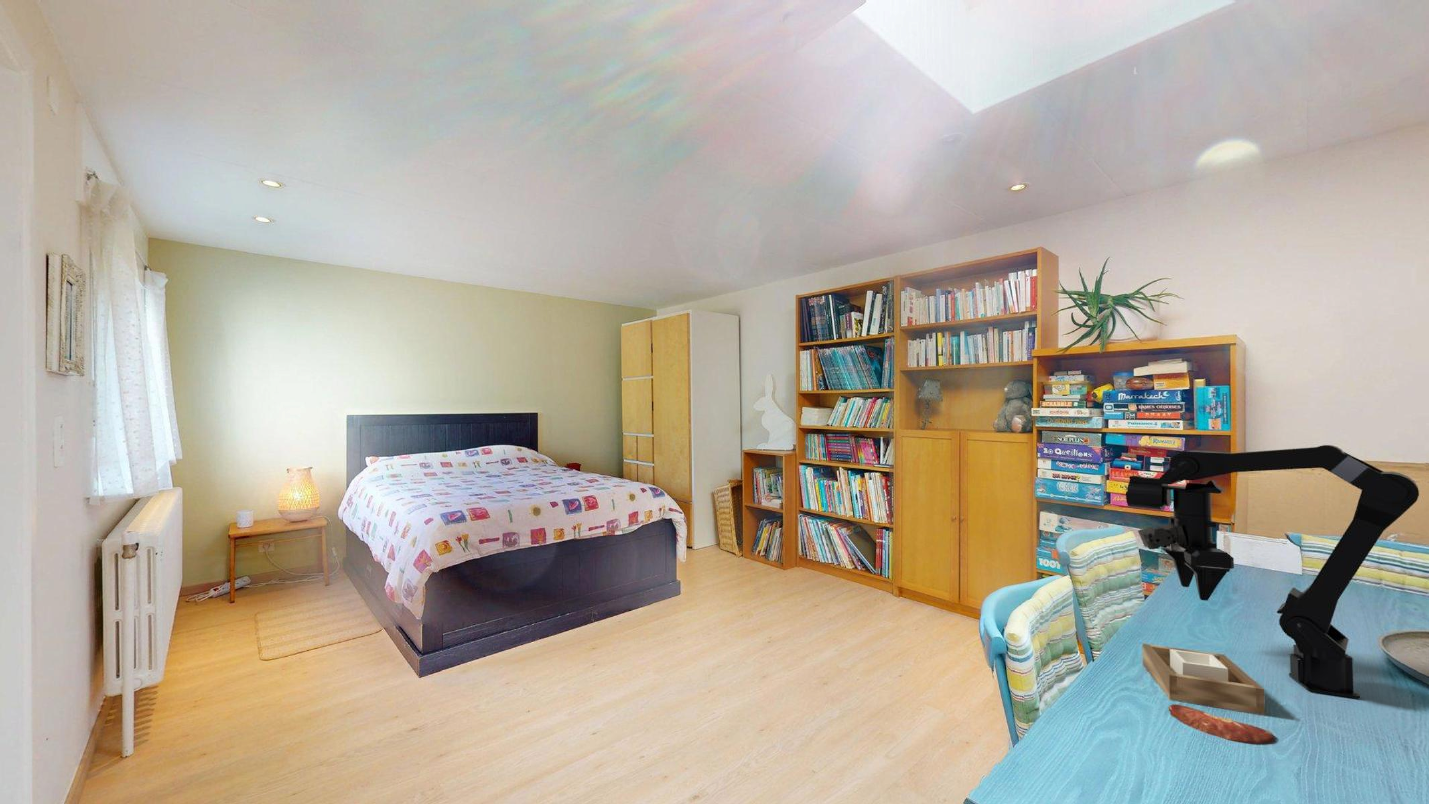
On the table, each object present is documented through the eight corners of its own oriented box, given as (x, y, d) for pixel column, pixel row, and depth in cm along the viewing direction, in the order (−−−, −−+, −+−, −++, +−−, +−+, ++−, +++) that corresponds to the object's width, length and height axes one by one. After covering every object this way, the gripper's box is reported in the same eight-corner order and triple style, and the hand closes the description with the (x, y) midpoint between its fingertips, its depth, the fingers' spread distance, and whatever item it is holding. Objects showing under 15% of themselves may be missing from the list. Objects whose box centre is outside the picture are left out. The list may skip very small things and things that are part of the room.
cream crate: (1212, 677, 97) (1212, 654, 97) (1228, 693, 91) (1227, 668, 91) (1170, 671, 99) (1169, 649, 99) (1183, 686, 94) (1182, 662, 94)
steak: (1173, 694, 90) (1277, 725, 82) (1173, 705, 90) (1277, 737, 81) (1162, 710, 85) (1273, 745, 76) (1163, 722, 85) (1273, 758, 76)
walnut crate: (1224, 677, 99) (1224, 654, 99) (1265, 715, 86) (1264, 689, 87) (1142, 665, 104) (1142, 643, 104) (1169, 699, 91) (1169, 674, 91)
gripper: (1129, 504, 121) (1130, 576, 121) (1158, 518, 104) (1159, 601, 104) (1193, 508, 117) (1194, 582, 117) (1234, 523, 100) (1236, 610, 99)
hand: (1194, 593), depth 109 cm, fingers open, 9 cm apart
